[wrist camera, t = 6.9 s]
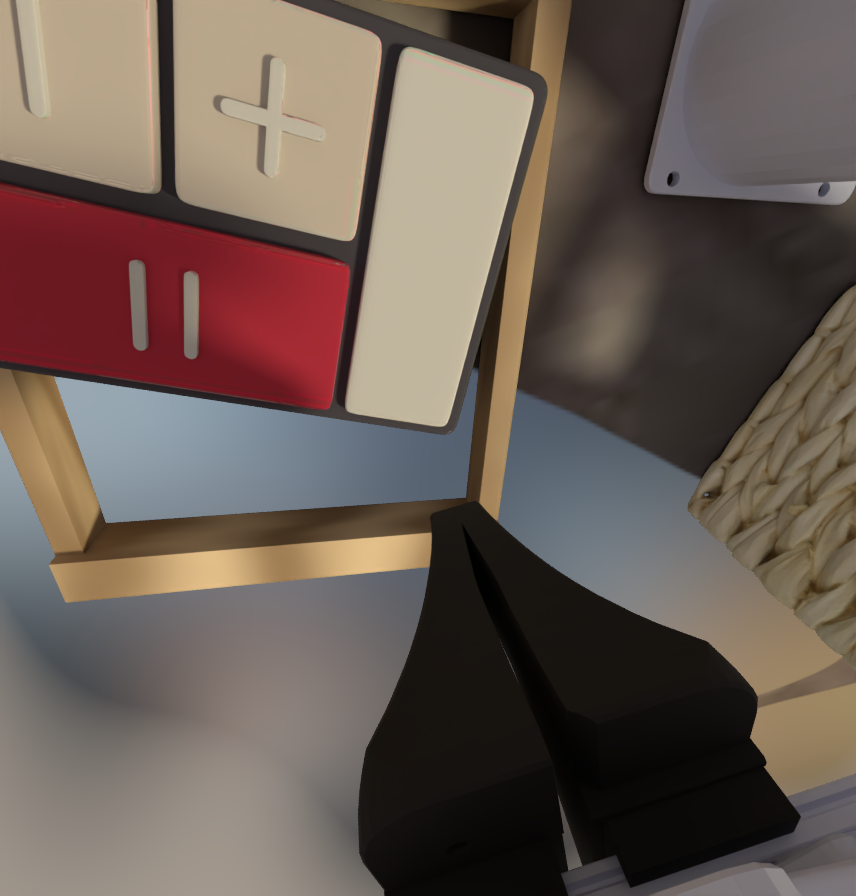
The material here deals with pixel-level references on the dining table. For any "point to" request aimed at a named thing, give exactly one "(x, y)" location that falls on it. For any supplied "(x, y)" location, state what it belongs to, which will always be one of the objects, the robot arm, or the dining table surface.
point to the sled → (307, 530)
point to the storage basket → (797, 484)
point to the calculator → (255, 202)
